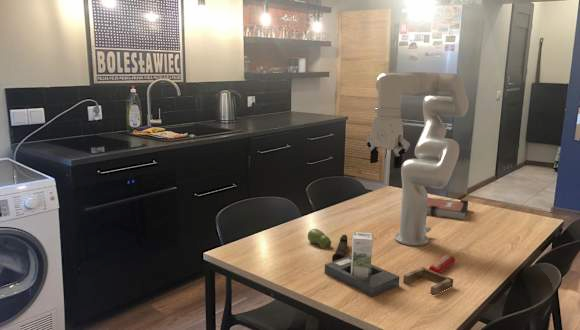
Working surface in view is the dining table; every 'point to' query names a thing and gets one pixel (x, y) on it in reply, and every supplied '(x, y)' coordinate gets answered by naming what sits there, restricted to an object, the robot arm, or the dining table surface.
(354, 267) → the syrup box
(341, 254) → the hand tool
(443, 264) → the candy bar
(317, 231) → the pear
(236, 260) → the dining table surface
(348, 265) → the grey rectangular frame
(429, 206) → the book
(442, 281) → the cradle
